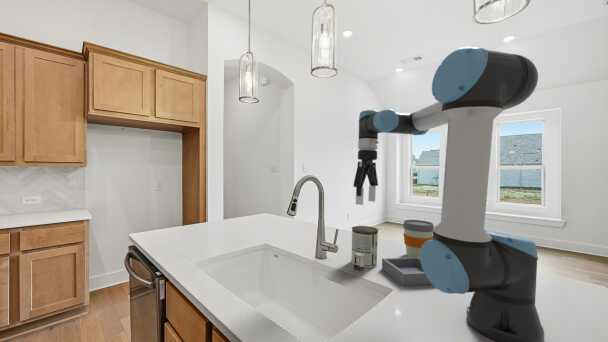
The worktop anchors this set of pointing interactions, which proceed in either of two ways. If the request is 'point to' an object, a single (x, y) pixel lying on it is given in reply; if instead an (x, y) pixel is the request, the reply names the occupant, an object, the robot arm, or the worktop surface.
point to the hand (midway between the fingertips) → (365, 202)
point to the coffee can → (365, 244)
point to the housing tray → (406, 271)
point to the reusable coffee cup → (416, 235)
